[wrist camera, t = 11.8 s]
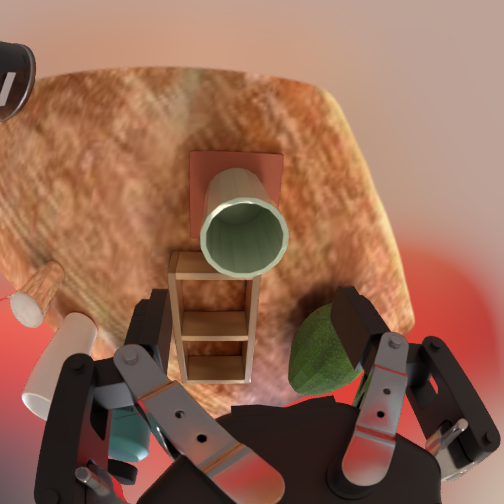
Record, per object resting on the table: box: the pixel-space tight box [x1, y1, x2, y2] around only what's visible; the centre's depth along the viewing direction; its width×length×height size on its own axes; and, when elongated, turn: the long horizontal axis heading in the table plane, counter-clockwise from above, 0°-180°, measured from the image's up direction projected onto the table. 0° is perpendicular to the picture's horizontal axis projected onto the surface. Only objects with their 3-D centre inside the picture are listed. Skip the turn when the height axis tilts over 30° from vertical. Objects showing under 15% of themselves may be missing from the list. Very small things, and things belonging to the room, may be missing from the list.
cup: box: [200, 168, 289, 278], centre depth 24 cm, size 6×6×10 cm
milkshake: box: [0, 261, 65, 328], centre depth 26 cm, size 4×5×10 cm
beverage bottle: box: [107, 405, 151, 485], centre depth 29 cm, size 6×7×20 cm
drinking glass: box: [21, 312, 98, 421], centre depth 28 cm, size 7×7×15 cm
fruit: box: [288, 302, 364, 396], centre depth 34 cm, size 15×10×10 cm, turn 155°
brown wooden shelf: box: [167, 251, 261, 384], centre depth 34 cm, size 9×17×4 cm, turn 176°
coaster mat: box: [190, 151, 284, 238], centre depth 29 cm, size 9×9×1 cm
